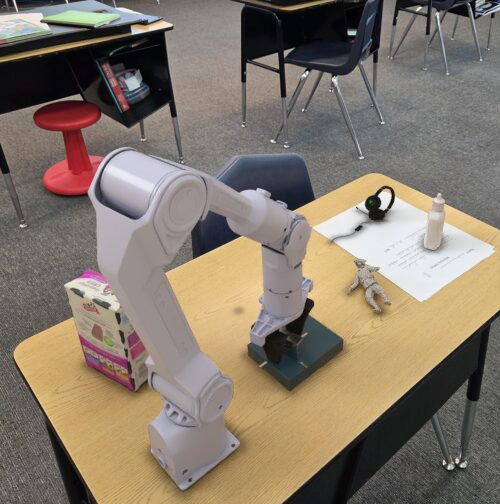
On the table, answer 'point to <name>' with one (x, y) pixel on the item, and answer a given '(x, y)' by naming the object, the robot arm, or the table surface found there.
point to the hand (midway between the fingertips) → (284, 348)
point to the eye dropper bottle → (435, 223)
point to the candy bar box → (106, 331)
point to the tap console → (314, 354)
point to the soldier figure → (368, 283)
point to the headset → (376, 206)
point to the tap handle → (292, 345)
